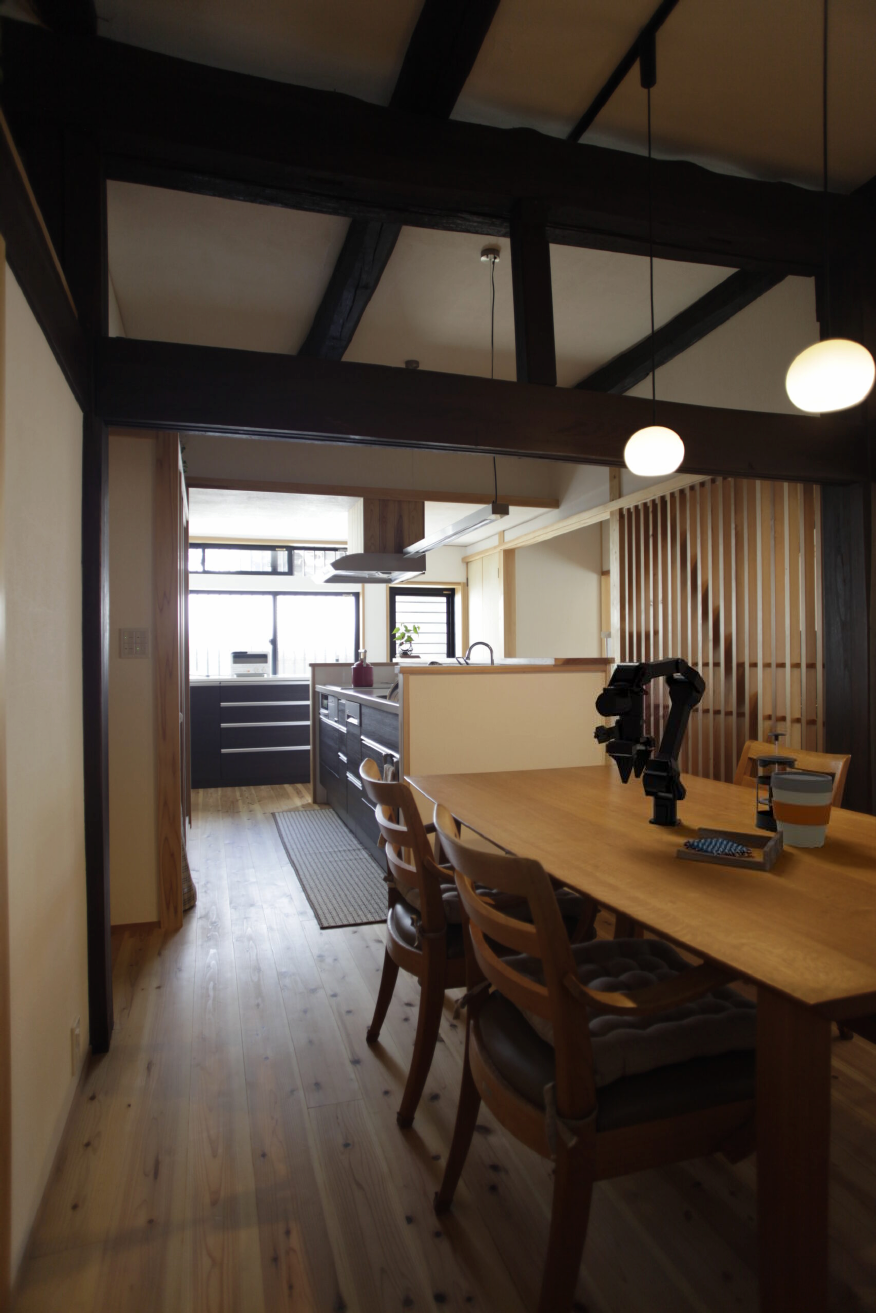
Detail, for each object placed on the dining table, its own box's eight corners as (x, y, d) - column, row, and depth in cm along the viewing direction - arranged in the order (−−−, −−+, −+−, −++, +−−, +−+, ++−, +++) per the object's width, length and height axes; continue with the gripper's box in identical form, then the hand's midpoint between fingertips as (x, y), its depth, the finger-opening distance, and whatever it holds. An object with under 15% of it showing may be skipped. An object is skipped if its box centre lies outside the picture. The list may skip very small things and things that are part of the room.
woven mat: (755, 858, 151) (755, 848, 151) (710, 862, 148) (711, 852, 148) (723, 845, 161) (723, 836, 161) (681, 849, 158) (681, 839, 158)
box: (699, 837, 166) (699, 820, 166) (783, 849, 156) (783, 830, 156) (676, 857, 150) (676, 837, 150) (768, 871, 140) (768, 850, 140)
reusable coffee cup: (782, 832, 171) (782, 769, 171) (841, 842, 162) (841, 775, 162) (761, 842, 162) (761, 775, 162) (821, 853, 153) (822, 782, 153)
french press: (801, 834, 170) (802, 735, 170) (758, 831, 172) (758, 734, 172) (793, 823, 181) (793, 730, 181) (752, 820, 184) (752, 729, 184)
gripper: (612, 711, 184) (611, 772, 184) (584, 716, 168) (584, 783, 168) (656, 713, 178) (655, 776, 178) (631, 718, 162) (631, 788, 162)
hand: (631, 780), depth 172 cm, fingers open, 9 cm apart
